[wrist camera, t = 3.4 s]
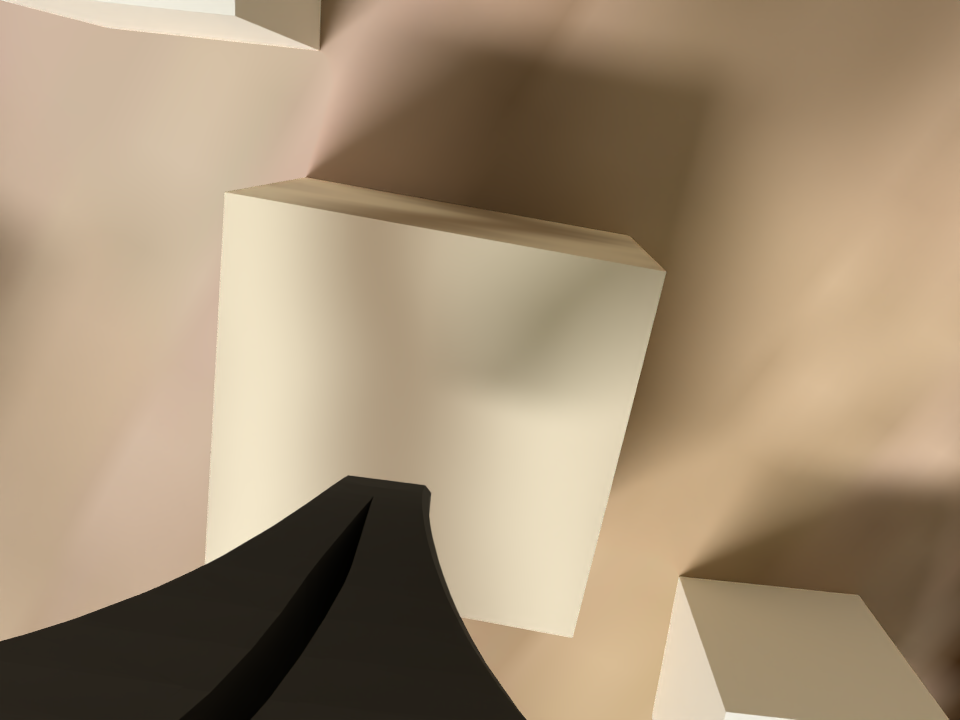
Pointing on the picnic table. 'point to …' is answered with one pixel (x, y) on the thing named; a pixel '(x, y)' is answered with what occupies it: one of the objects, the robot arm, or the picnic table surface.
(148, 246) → the picnic table surface
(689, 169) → the picnic table surface
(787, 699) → the white marked cube
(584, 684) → the picnic table surface
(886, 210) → the picnic table surface
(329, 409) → the plain block
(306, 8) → the numbered cube seven
